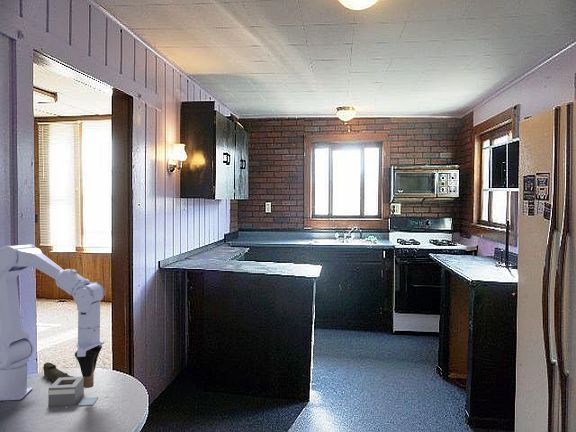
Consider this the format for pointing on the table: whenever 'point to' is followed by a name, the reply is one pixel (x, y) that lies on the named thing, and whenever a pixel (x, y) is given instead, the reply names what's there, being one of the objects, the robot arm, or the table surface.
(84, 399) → the pad
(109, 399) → the table surface
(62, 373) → the brown rough rod
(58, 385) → the gray hollow box
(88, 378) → the wooden rod
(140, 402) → the table surface
